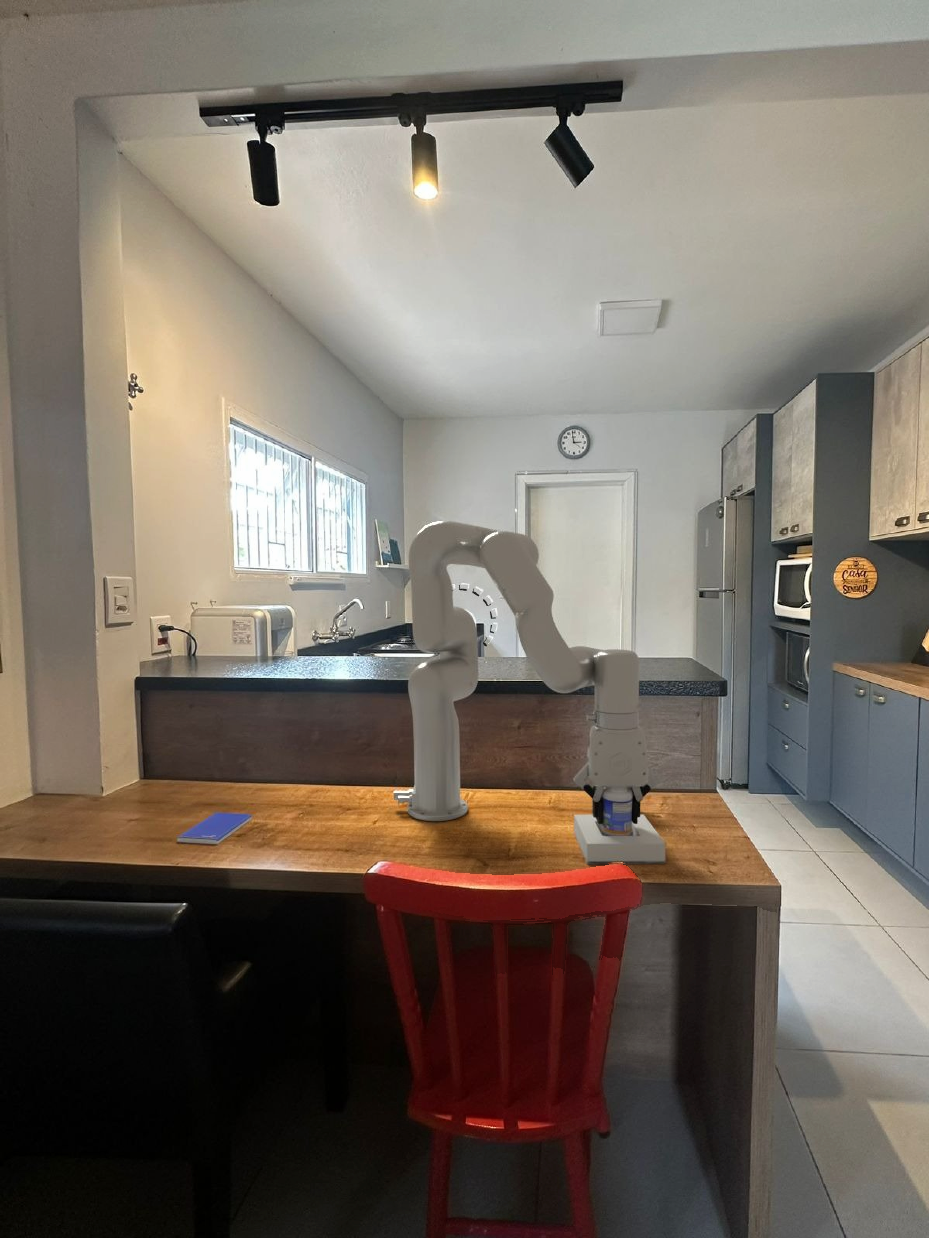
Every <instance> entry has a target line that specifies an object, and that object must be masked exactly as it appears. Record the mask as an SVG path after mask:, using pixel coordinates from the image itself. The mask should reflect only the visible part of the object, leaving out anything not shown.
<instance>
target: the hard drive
mask: <svg viewBox="0 0 929 1238" xmlns="http://www.w3.org/2000/svg"><path fill="white" fill-rule="evenodd" d="M251 820H253V817H252V814H250V813H249V814H248V813H233V812H232V813H231V812H215V813H213V814H212V815H210V816H208V817H207V818H205V819H204V820H202V821H201V822H199V823H197V824H196V825H194V826H193V827H191V828H189V829H187V831H185V832H183V833H181V834H180V835H178V836H177V838H176V839H177V841H176V842H177V843H188V844H189V843H193V844H205V845H206V844H208V845H219V844H220V843H221V842H223V841H224V840H226V839H227V838H228V837H229V836H231V835H232V834H234V833H235V832H237V831H238V830H239V829H240V828H242V827H243V826H245V825H246V824H247V823H249V822H250V821H251Z"/></svg>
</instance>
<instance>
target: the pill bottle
mask: <svg viewBox="0 0 929 1238" xmlns="http://www.w3.org/2000/svg"><path fill="white" fill-rule="evenodd" d="M601 800H602V802H603V823H602V824H601V830H602V831H603V832H604V833H605V834H608V835H611V836H627V835H629V834H630V833H631V832H632V792H631V790H629V789H628V788H627V787H604V789H603V792H602V795H601Z"/></svg>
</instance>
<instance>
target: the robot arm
mask: <svg viewBox="0 0 929 1238" xmlns="http://www.w3.org/2000/svg"><path fill="white" fill-rule="evenodd" d="M539 556H540V555H539V549H538V546H537V544H536V543H535V541H534V540H533V539H532V538H531V537H529V536H528V535H525V534H523V533H518V532H513V531H506V530H505V531H503V530H500V529H499V530H498V529H493V528H489V527H483V526H478V525H473V524H469V523H468V524H467V523H462V522H456V521H451V520H439V521H435V522H431V523H429V524H427V525H424V527H422V528H421V529H420V530H419V531H418V532H417V533H416V535H415V536H414V537H413V539H412V541H411V543H410V546H409V550H408V569H409V577H410V587H411V616H412V617H411V618H412V621H411V622H412V623H411V624H412V637H413V641H414V645H415V646H416V647H417V648H418V650H420V651H421V652H423V653H427V654H439V658H437V659H436V658H435V659H431V660H426V661H425V662H422V663H420V664H419V665H417V666H416V667H415V668H414V669H413V670H412V671H411V673H410V674H409V678H408V681H407V682H408V683H407V688H408V689H407V691H408V696H409V701H410V706H411V712H412V724H413V725H412V728H413V729H412V730H413V731H412V732H413V734H412V735H413V764H414V765H413V767H414V768H413V769H414V770H413V771H414V785H413V788H410V789H408V790H393V801H397V803H398V804H405V803H408V804H407V814H409V816H411V817H412V818H414V819H417V820H420V821H426V822H428V821H429V822H443V821H445V822H446V821H451V820H454V819H458V818H460V817H462V816H464V815H466V814H467V812H468V809H469V808H468V807H469V805H468V802H467V801H466V800H465V799H463V798H461V762H460V761H461V759H460V758H461V757H460V756H461V754H460V753H461V751H460V748H461V746H460V723H459V722H460V721H459V717H458V715H457V711H456V709H455V704H454V702H455V701H459V700H463V699H466V698H468V697H469V696H470V695H471V694H473V693H474V692H475V690H476V688H477V685H478V682H479V651H478V650H479V649H478V648H479V647H478V643H479V642H478V631H477V625H476V622H475V620H474V618H473V616H472V615H471V613H469V612H468V611H467V610H466V609H465V608H463V607H459V606H454V598H453V595H454V590H453V589H454V588H453V583H452V580H451V578H450V574H449V572H448V569H447V566H449V565H456V566H457V565H460V566H471V567H472V566H473V567H477V568H482V569H485V571H486V572H487V573H488V575H489V577H490V579H491V580H492V581H493V583H494V584H495V587H496V588H497V589H498V591H499V592H500V594H501V595H502V597H503V598H504V600H505V603H506V604H507V605H508V607H509V609H510V610H511V612H512V613H513V615H514V619H515V626H516V631H517V633H518V638H519V641H520V645H521V648H522V649H523V652H524V654H525V656H526V657H527V659H528V661H529V662H530V664H531V666H532V668H533V669H534V670H535V671H536V673H537V675H538V676H539V678H540V679H541V681H542V682H543V683H544V684H545V686H547V687H548V688H549V689H551V690H552V691H554V692H556V693H559V694H569V693H572V692H575V691H577V690H580V689H583V688H587V687H590V686H594V708H593V711H592V712H590V713H586V716H585V717H586V722H591V723H593V724H594V725H591V726H590V730H589V736H588V743H587V753H586V763H585V764H584V765H583V767H582V768H581V769H580V770H579V771H577V773H576V774H575V775H574V777H573V778H572V779H573V782H574V783H575V784H576V785H577V786H578V787H579V788H581V789H582V790H583V791H584V792H585V793H586V794H587V795H588V796H589V797H590V798H591V799H592V815H593V817H594V818H596V820H597V822H598V824H602V823H603V802H602V800H601V795H602V792H603V789H604V787H630V789H631V792H632V822H633V823H634V824H637V823H638V817H640V814H641V802H642V801H643V799H644V798H645V796H646V795H647V794H648V793H649V792H650V791H651V790H652V789H654V788H655V787H656V786H657V785H658V784H659V783H660V782H661V779H660V778H659V777H658V776H657V774H656V773H655V772H654V771H653V770H652V769H651V768H650V766H649V763H648V762H649V761H648V748H647V742H646V735H645V731H644V730H645V729H644V728H643V727H641V726H640V725H639V722H640V721H639V718H640V717H639V716H640V715H639V713H640V710H639V709H640V708H639V707H640V706H639V699H640V698H639V696H640V693H639V692H640V691H639V690H640V680H639V679H640V675H639V674H640V670H639V669H640V665H639V664H640V663H639V661H640V660H639V656H638V654H637V653H636V652H635V651H632V650H630V649H619V648H618V649H617V648H616V649H614V648H613V649H598V648H595V647H588V646H585V645H584V646H582V645H578V646H577V645H576V646H572V647H569V646H568V645H567V643H566V641H565V639H564V637H563V636H562V635H561V633H560V631H559V630H558V628H557V626H556V623H555V621H554V617H553V612H552V609H553V608H552V607H553V602H554V598H555V597H554V590H553V589H552V587H551V585H550V584H549V583H548V581H547V580H546V578H545V577H544V575H543V574H542V572H541V570H540V569H539V568H538V563H539V562H538V561H539ZM587 778H588V780H589V782H590V783H591V785H592V786H591V785H590V784H589V783H588V782H587V781H585V779H587Z"/></svg>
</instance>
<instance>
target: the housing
mask: <svg viewBox="0 0 929 1238" xmlns="http://www.w3.org/2000/svg"><path fill="white" fill-rule="evenodd" d="M573 834H574V836H575V838H576V841H577V843H578V846H579V849H580V851H581V853H582V855H583V858H584V859H585V863H586V865H609V864H608V863H612V862H623V863H625V864H624V865H665V864H666V843H665V841H664V840H663V838H662V837H661V835H660V834H659V833H658V832H657V830H656V829H655V828H654V826H653V825H652V823H651V822H650V821H649V820H648V819H647V817H646V816H645V814H644V813H643V814H641V813H640V817H638V823H637V824H634V823H633V822H632V832H631V833H630V834H629V835H627V836H611V835H608V834H605V833H604V832H603V831H602V830H601V824H598V822H597V820H596V818H594V817H593V814H574V815H573Z"/></svg>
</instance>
